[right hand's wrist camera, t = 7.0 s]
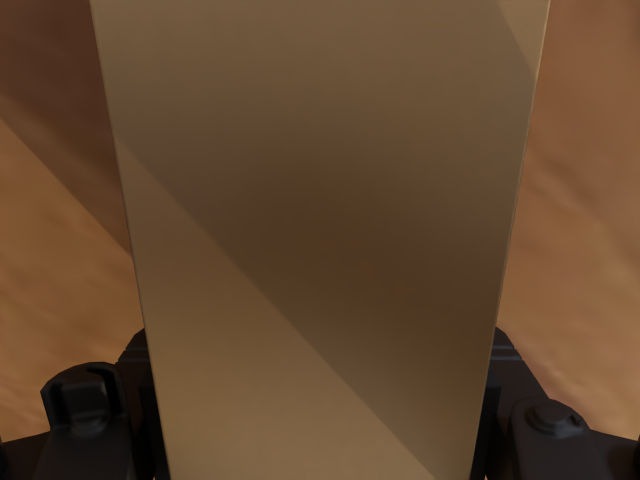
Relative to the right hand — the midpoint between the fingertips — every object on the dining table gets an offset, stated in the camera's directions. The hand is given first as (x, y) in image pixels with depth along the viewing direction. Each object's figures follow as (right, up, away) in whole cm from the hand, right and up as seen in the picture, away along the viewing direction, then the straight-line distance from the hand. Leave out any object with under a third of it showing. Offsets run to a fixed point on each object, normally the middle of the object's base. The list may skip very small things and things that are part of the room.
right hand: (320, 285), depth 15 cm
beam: (0, +27, -10) cm, 29 cm away
